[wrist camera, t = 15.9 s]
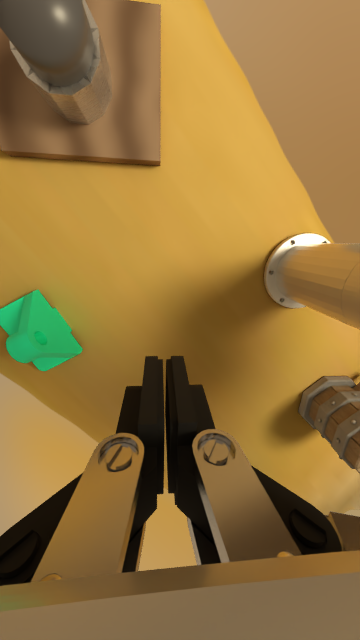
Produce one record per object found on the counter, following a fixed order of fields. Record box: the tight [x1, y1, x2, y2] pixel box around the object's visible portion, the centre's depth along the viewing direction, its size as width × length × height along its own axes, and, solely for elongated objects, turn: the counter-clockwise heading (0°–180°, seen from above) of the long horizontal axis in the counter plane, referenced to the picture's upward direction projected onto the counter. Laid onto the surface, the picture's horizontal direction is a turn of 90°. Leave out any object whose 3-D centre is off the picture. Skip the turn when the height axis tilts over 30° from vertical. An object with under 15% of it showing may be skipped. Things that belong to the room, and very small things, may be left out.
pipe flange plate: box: [0, 0, 161, 166], centre depth 25 cm, size 20×15×8 cm
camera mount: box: [0, 290, 83, 371], centre depth 34 cm, size 12×8×10 cm, turn 27°
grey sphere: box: [0, 0, 94, 87], centre depth 21 cm, size 7×7×7 cm
